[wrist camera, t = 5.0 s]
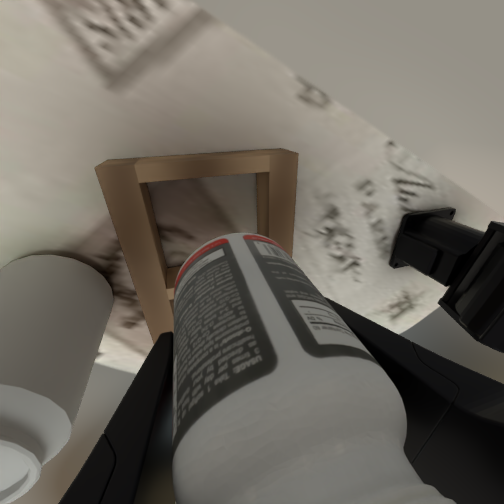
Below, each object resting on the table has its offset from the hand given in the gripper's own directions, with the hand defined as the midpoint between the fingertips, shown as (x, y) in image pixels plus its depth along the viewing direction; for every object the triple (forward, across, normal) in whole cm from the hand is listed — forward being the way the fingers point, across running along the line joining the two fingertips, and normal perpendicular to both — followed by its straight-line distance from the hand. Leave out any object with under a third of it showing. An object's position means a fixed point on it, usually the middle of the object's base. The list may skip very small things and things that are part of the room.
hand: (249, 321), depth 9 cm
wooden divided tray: (+12, 0, +4) cm, 12 cm away
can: (+12, +12, +4) cm, 18 cm away
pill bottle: (+3, 0, 0) cm, 3 cm away
